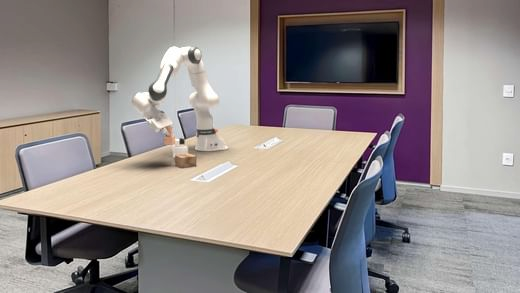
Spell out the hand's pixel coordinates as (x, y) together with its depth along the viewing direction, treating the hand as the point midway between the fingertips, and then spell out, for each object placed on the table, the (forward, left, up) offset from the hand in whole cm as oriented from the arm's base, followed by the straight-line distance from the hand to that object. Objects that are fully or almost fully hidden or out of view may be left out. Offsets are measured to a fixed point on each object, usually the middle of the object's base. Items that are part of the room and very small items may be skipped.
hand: (170, 134), depth 261 cm
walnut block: (-7, +5, -18) cm, 20 cm away
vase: (+1, 0, -6) cm, 6 cm away
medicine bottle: (-8, -19, -18) cm, 28 cm away
